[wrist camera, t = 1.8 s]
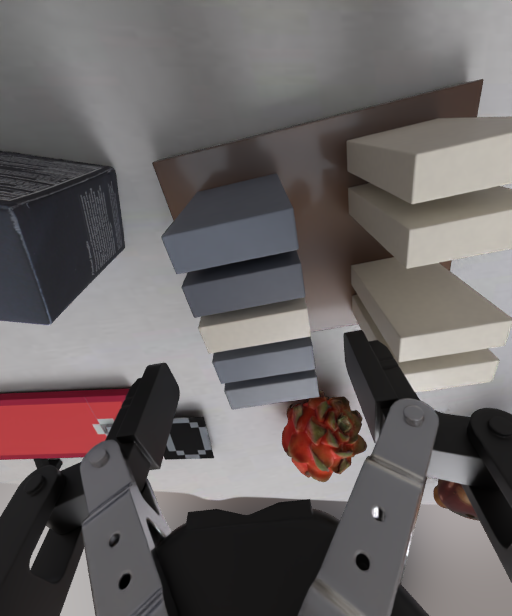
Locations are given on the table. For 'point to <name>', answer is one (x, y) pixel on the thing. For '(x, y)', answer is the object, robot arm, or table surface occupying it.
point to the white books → (433, 244)
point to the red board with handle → (80, 426)
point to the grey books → (245, 282)
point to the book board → (315, 186)
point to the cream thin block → (255, 325)
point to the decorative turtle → (454, 499)
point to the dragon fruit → (322, 436)
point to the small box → (53, 233)
